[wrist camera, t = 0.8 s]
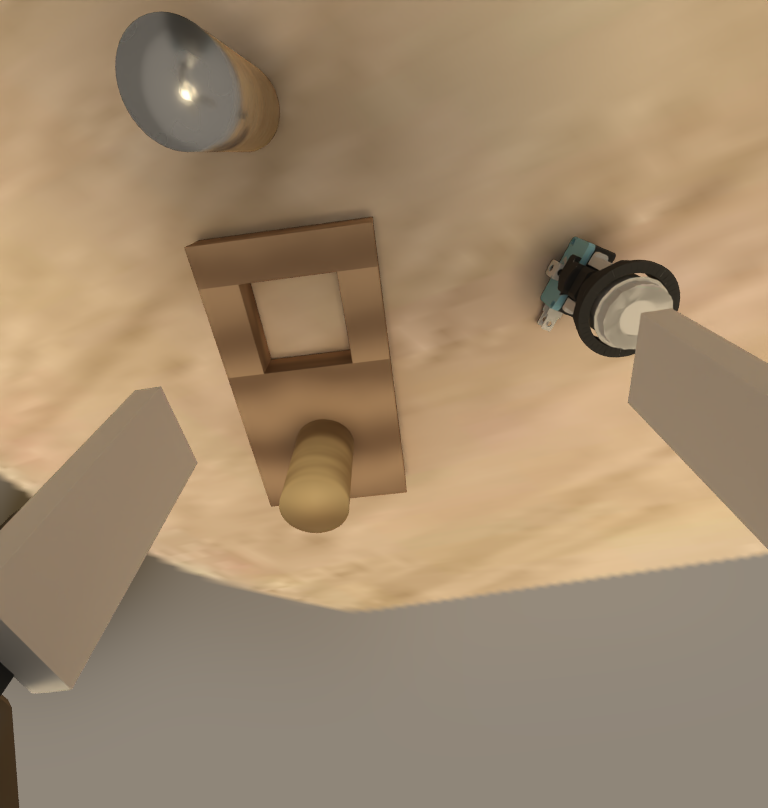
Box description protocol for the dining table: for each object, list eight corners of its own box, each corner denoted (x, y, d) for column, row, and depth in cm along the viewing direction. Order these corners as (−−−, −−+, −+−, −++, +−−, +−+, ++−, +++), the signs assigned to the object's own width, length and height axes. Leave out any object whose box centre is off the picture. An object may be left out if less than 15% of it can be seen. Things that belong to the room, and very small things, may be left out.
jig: (198, 240, 30) (127, 276, 21) (372, 216, 30) (370, 244, 21) (276, 487, 41) (250, 576, 32) (405, 473, 40) (412, 561, 32)
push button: (568, 334, 34) (633, 396, 25) (506, 310, 33) (553, 367, 24) (619, 249, 31) (714, 287, 22) (553, 221, 30) (626, 249, 21)
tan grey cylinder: (190, 66, 25) (95, 21, 17) (269, 54, 25) (212, 2, 17) (215, 156, 28) (142, 159, 19) (287, 146, 28) (246, 143, 19)
